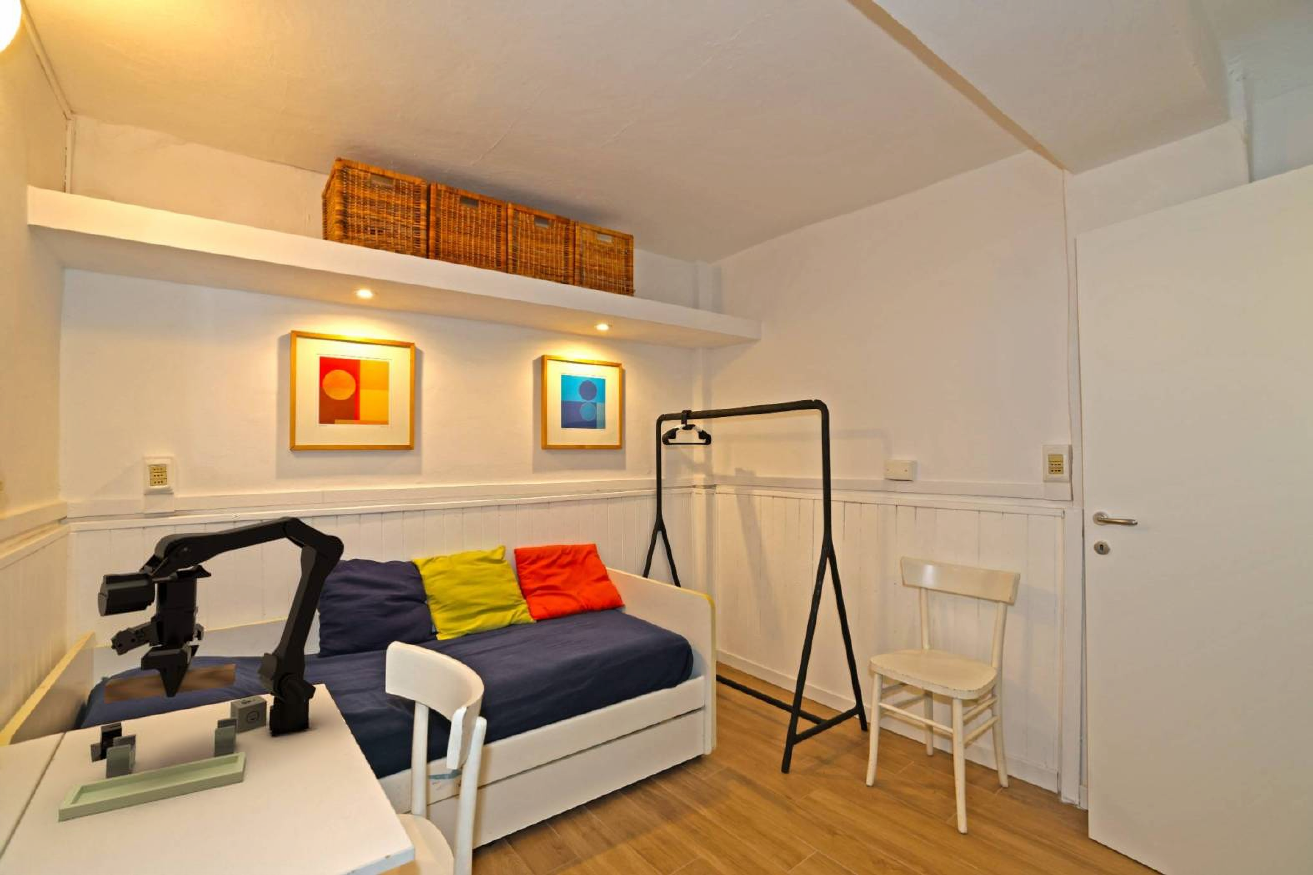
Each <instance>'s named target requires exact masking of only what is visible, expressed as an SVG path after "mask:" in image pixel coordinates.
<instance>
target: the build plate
mask: <svg viewBox="0 0 1313 875" xmlns="http://www.w3.org/2000/svg"><path fill="white" fill-rule="evenodd" d="M122 725H123V724H122V722H121V721H118V722H115V723H110V724H106V725H101V726H100V730H99V731H100V732H99V733H100V734H99V735H100V736H99V742H96V743H91V744H90V745H89V746H90V755H91V756H90V757H91V763H96V762H99V761H104V760H107V759H106V757H107V749H108V748H111V747H113V739H114V738H116V737H122V736H123V726H122Z"/></svg>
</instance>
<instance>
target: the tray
mask: <svg viewBox="0 0 1313 875" xmlns="http://www.w3.org/2000/svg"><path fill="white" fill-rule="evenodd" d="M246 754H247V752H246V751H241V752H237V753H235V752H234V754H230V755H225V756H220V757H215V758H214V757H210V758H205V759H201V760H195V761H191V762H186V763H182V764H176V765H171V766H165V767H161V768H154V769H150V770H144V771H140V772H135V773H130V774H129V775H124V776H119V777H114V778H109V779H106V778H104V779H100V780H94V781H88V782H85V783H79V784H75V785H74V786H73V787H72V789H71V791H70V792H69V794H68V796H67V797H66V798H65V799H64V801H63V803H62V805H61V806H60V807H59V809H58V822H61V821H67V820H71V819H75V818H76V819H77V818H81V817H85V816H89V815H94V814H97V813H98V814H99V813H102V812H107V811H113V810H117V809H121V808H122V809H123V808H126V807H130V806H131V807H132V806H136V805H140V804H145V803H149V802H154V801H158V800H164V799H167V798H168V799H169V798H171V797H176V796H177V797H178V796H180V795H182V796H183V795H185V794H191V793H195V792H200V791H204V790H208V789H213V788H218V787H223V786H228V785H232V784H236V783H242V782H243V777H244V771H245V765H246V758H247V757H246Z"/></svg>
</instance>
